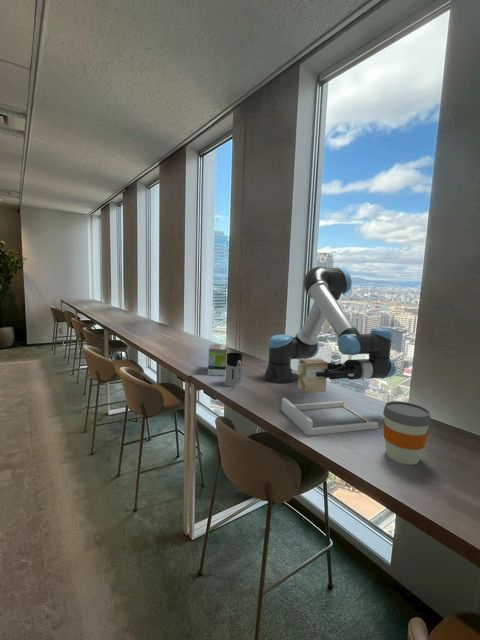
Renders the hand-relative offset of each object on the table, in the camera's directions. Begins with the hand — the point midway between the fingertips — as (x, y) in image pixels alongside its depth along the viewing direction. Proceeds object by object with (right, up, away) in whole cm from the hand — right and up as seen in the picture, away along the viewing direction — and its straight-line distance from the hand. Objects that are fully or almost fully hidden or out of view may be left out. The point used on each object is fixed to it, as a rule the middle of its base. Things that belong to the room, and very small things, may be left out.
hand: (302, 371), depth 118 cm
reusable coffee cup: (+26, -23, -20) cm, 40 cm away
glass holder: (-25, -14, +40) cm, 50 cm away
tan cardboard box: (+4, -7, +2) cm, 8 cm away
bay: (+11, -19, +6) cm, 22 cm away
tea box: (-35, -11, +63) cm, 73 cm away
